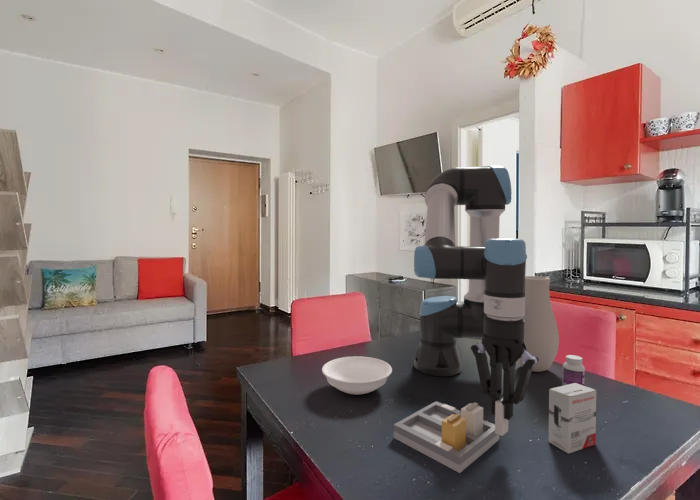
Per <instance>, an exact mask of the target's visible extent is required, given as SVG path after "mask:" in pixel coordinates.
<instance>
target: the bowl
mask: <svg viewBox="0 0 700 500" xmlns="http://www.w3.org/2000/svg"><path fill="white" fill-rule="evenodd" d="M321 372H322V374H323V375H324V376H325V377H326V380H327V382H328V384H329V385H330V386H332V387H334V388H336V389H337V390H338V391H341V392H343V393H345V394H349V395H356V396H357V395H364V394H369V393H371V392H374V391H375V390H378V389H379V388H381V387H382V386H384V385H385V384H386V383H387V380H388V378H389V376H391V374H392V373H393V367H392V366H391V365H390V364H389V363H388V362H387V361H385V360H382V359H379V358H375V357H369V356H356V355H354V356H342V357H338V358H334V359H332V360H330V361H328V362H326V363H324V365H322V368H321Z"/></svg>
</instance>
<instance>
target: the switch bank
mask: <svg viewBox="0 0 700 500" xmlns="http://www.w3.org/2000/svg"><path fill="white" fill-rule="evenodd" d="M452 414H454V415H455V414H460V417H461V409H460V410H459V409H457V407H454V406H452V405H448V404H446V403H442V402H439V401H434V402H432V403H430V404H428V405H427V406H425V407H422V408H421V409H420V410H417V411H415V412H414V413H412V414H410V415H408V416H406V417H405V418H403V419H401V420H399V421H398V422H395V423H394V424H393V438H394V439H395V440H397V441H398V442H401V443H403V444H404V445H406V446H408V447H410V448H412V449H414V450H415V451H418V452H420V453H421V454H423V455H425V456H427V457H429V458H430V459H432V460H435V461H436V462H438V463H440V464H442V465H444V466H445V467H448V468H449V469H451V470H453V471H454V472H456V473H458V474H460V473H462V472H463V471H464V470H466V469H467V468H468V467H469V466H470V465H471V464H473V463H474V462H475V461H476V460H477V459H478V458H480V457H481V456H482V455H483V454H484V453H486V452H487V451H488V450H489V449H491V447H493V446H494V445H495V444H496V443H497V442H499V440H500V435H498V434H496V433H495V423H492V422H489V421H487V420H484V419H483V432H482V433H481V434H480V435H479V436H475V435H472V434H470V433H468V432H466V444H465V446H464V447H463V448H461V449H460V450H459V451H457V450H455V449H453V447H451V446H449V445H447V444H445V443H443V442H442V420H444V419H445V418H447V417H449V416H450V415H452Z"/></svg>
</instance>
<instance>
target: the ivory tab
mask: <svg viewBox="0 0 700 500" xmlns="http://www.w3.org/2000/svg"><path fill="white" fill-rule="evenodd" d="M460 411H461V418H464V419H466V432H468V433H470V434H472V435H475V436H479V435H480V434H481V433H482V432H483V420H484V407H482V406H480V405H479V403H477V402H473V403H471V402H469V403H468V404H466V405H465V406H463V407H462V408H460Z"/></svg>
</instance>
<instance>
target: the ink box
mask: <svg viewBox="0 0 700 500" xmlns="http://www.w3.org/2000/svg"><path fill="white" fill-rule="evenodd" d="M548 392H549V393H548V443H550V444H552V445H553V446H555V447H557V448H558V449H560V450H561V451H563V452H565V453H567V455H568V454H572V453H574V452H577V451H580V450H584V449H587V448H589V447H593V446H595V445H596V444H597V440H596V436H597V433H596V432H597V390H596V389H595V388H592V387H588V386H585V385H584V386H583V385H580V384H577V383H572V384H568V385H564V386H562V385H560V386H556V387H552V388H549V389H548Z"/></svg>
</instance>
